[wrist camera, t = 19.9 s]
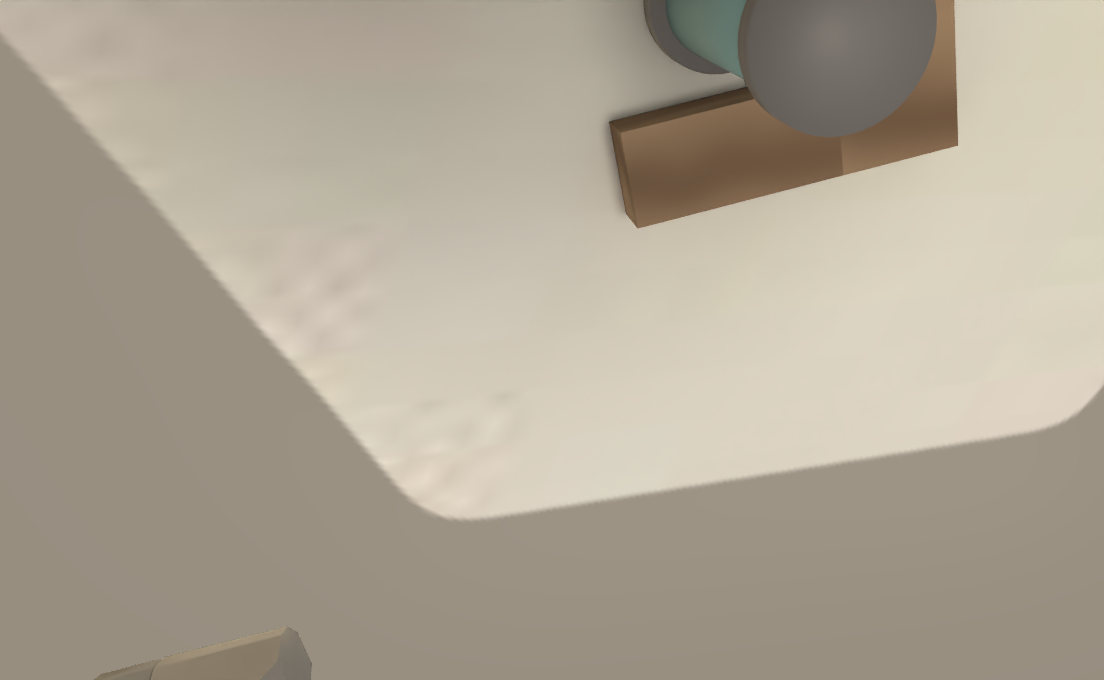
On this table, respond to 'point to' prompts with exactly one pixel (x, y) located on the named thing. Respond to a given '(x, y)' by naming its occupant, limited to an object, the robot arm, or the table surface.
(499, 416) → the table surface
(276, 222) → the table surface
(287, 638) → the robot arm
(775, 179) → the notched board
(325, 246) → the table surface
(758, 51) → the bobbin
